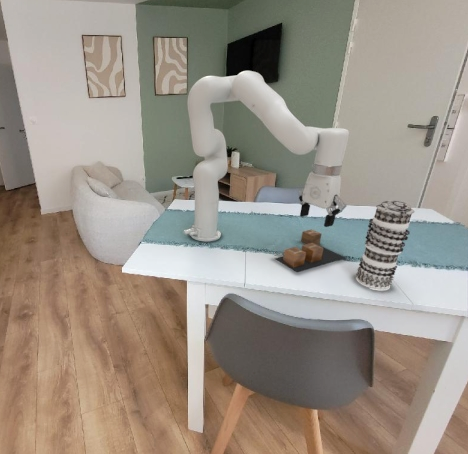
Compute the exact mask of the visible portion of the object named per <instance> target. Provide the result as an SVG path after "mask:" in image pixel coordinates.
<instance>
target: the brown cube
mask: <svg viewBox="0 0 468 454" xmlns="http://www.w3.org/2000/svg"><path fill="white" fill-rule="evenodd" d="M320 246H321V245H319V244H317V245H316V244H314V243H309V244H305V243H304V244H302V245H301V249H300V250H302V251H304V252H306V256H305V260H307V261H309V262H311V263H312V262H315V261H319V260H321V258H322V253H323V248H322V247H323V246H322V247H320Z"/></svg>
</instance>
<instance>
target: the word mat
mask: <svg viewBox="0 0 468 454" xmlns="http://www.w3.org/2000/svg"><path fill="white" fill-rule="evenodd" d="M319 246H320V247H322V248H323V253H322V258H321V260H319V261H315V262H312V263H311V262H309V261H307V260H305V261H304V265H301V266H297V267H294V268H293V267H291V266H290V265H288V264H286V263H285V262H283V258H284V255H283V256H278V257H275V258H274V260H275V261H277V262H279V263H280V264H282V265H284V266H285V267H287V268H289V269H290V270H291V271H293V272H295V273H300V272H304V271H307V270H311V269H314V268H317V267H322V266H324V265H327V264H331V263H335V262H338V261H342V260H344V259H346V257H345V256H343V255H341V254H339V253H336V252H334V251H332V250H330V249H328V248H326V247H323V246H322V245H319Z"/></svg>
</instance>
